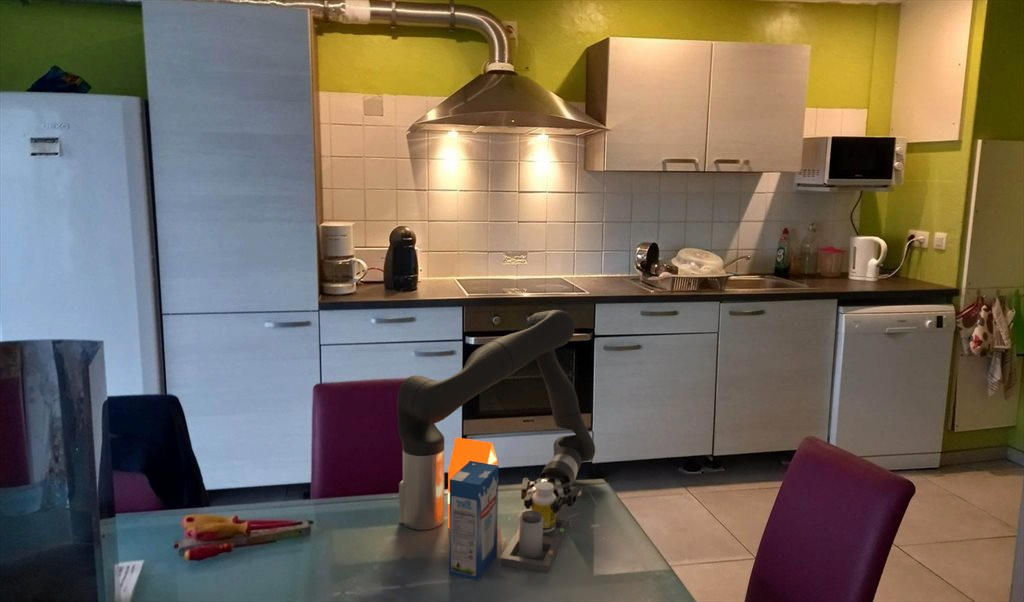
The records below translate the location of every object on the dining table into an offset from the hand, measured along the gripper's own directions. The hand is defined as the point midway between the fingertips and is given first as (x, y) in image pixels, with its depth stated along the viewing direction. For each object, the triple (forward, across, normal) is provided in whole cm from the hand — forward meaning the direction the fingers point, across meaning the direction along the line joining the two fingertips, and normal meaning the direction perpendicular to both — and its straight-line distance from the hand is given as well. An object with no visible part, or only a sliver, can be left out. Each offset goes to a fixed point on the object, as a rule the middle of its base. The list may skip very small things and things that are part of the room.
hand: (541, 506), depth 160 cm
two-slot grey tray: (+3, 0, +8) cm, 8 cm away
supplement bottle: (-3, 0, +6) cm, 7 cm away
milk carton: (+15, -10, +8) cm, 19 cm away
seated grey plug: (+8, 0, +7) cm, 11 cm away
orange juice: (-1, -16, +8) cm, 18 cm away
